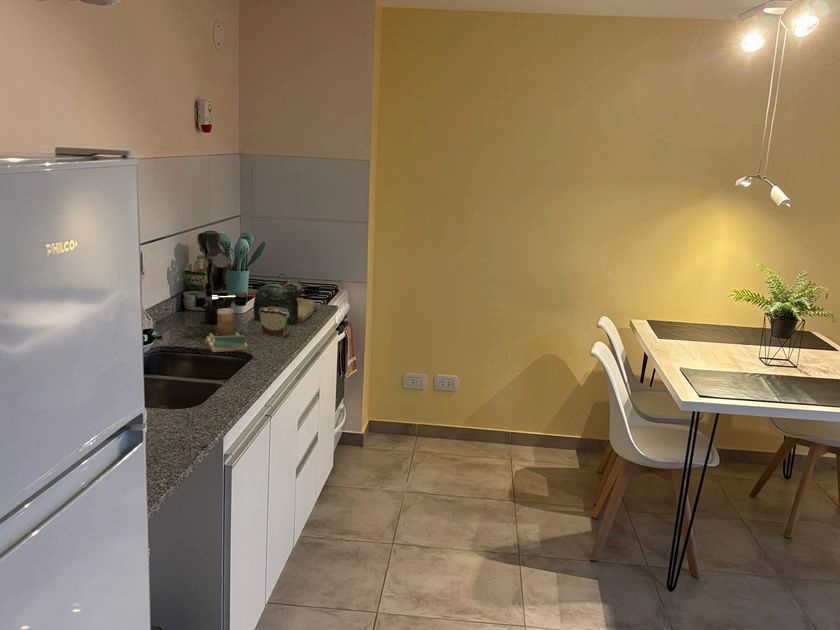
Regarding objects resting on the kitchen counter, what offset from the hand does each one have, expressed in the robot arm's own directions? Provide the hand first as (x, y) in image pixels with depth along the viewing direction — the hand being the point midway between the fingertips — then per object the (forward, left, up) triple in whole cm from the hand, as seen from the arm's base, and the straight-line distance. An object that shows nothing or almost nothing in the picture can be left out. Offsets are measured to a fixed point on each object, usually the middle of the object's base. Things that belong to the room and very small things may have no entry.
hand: (223, 318), depth 280 cm
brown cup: (+4, +4, -6) cm, 8 cm away
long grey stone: (-55, 0, -8) cm, 56 cm away
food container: (-18, +11, -8) cm, 22 cm away
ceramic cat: (-35, 0, -8) cm, 36 cm away
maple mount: (+6, +6, -8) cm, 11 cm away
